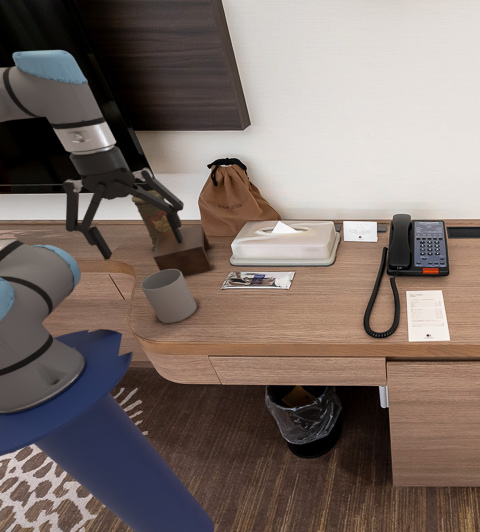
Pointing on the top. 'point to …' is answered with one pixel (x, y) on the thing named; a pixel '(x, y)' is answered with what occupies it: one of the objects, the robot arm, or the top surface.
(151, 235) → the container
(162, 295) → the cup
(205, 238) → the brown wooden block
